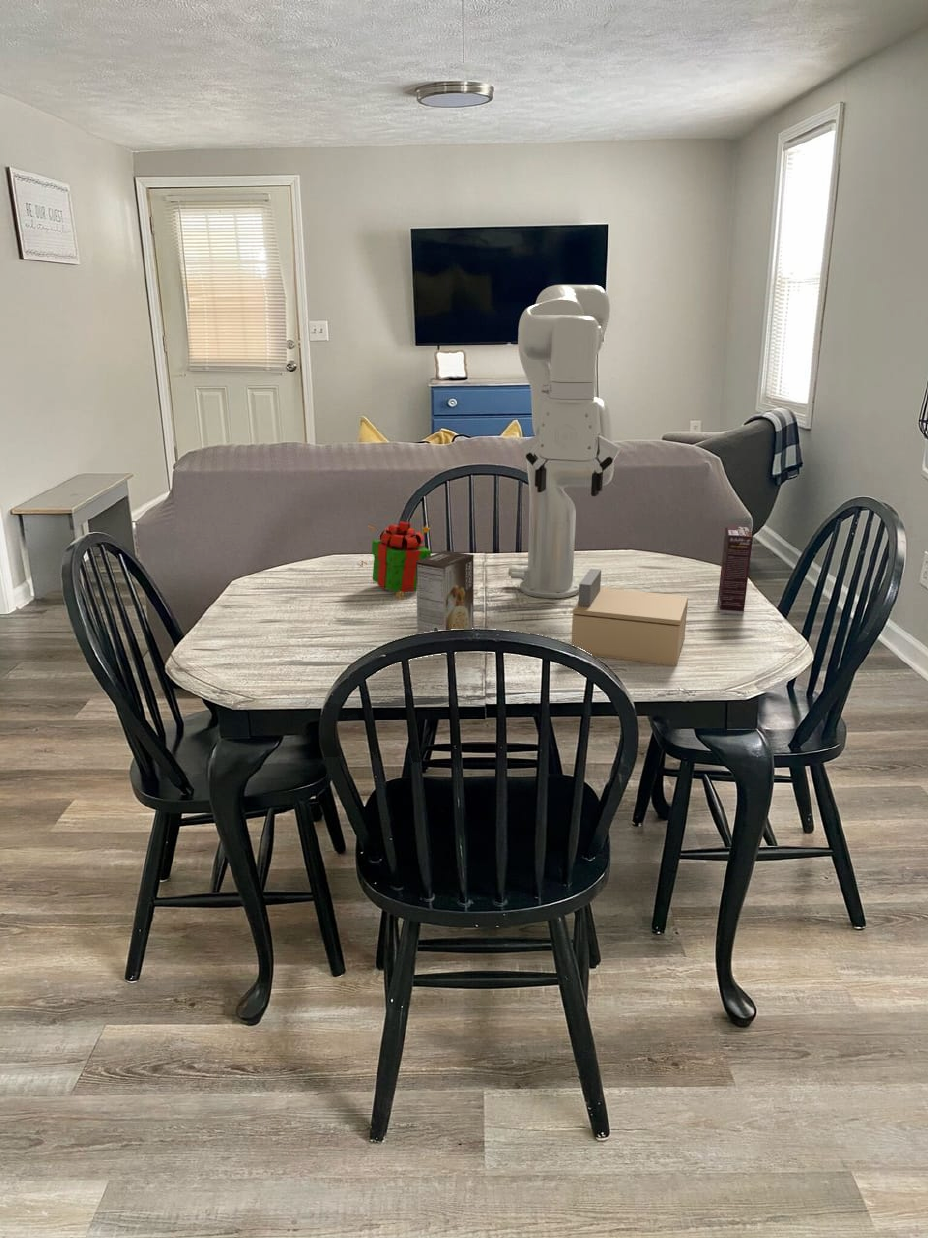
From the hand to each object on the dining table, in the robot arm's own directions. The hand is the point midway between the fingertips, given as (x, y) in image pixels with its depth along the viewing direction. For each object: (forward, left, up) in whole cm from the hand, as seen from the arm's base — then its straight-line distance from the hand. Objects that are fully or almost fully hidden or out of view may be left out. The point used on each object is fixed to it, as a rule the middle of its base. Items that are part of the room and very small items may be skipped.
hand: (568, 493), depth 162 cm
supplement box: (+29, +25, -26) cm, 47 cm away
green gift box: (-40, +18, -26) cm, 52 cm away
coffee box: (-18, -13, -26) cm, 34 cm away
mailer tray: (+13, -3, -26) cm, 29 cm away
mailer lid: (+13, -3, -19) cm, 23 cm away
